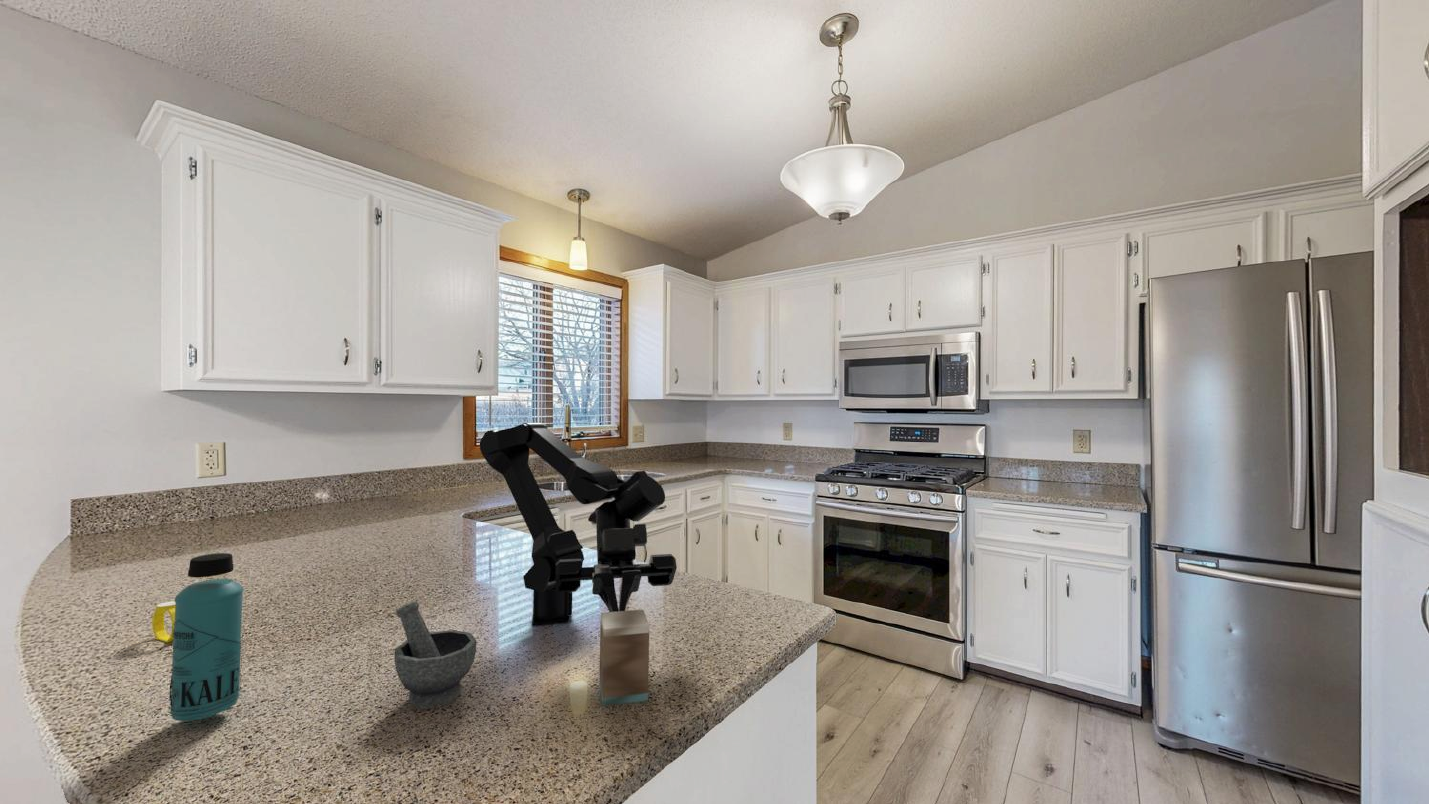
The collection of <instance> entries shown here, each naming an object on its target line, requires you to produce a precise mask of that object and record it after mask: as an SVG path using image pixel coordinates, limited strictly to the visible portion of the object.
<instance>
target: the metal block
mask: <svg viewBox="0 0 1429 804" xmlns="http://www.w3.org/2000/svg"><path fill="white" fill-rule="evenodd" d="M599 628H600V631H599V633H600V634H599V635H600V636H599V637H600V638H599V641H600V643H599V673H598V674H599V677H598V679H599V680H598V681H599V682H598V684H599V685H598V686H599V693H600V699H601V705H602V707H605V706H614V705H620V704H621V705H622V704H629V703H638V702H646V701H648V700H649V672H650V671H649V667H650V664H649V663H650V623H649V621H648V618H647V615H646V613H645V611H644V609H634V610H633V609H630V610H625V611H618V612H609V611H608V612H606V611H605V612H600V627H599Z"/></svg>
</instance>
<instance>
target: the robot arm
mask: <svg viewBox="0 0 1429 804" xmlns="http://www.w3.org/2000/svg"><path fill="white" fill-rule="evenodd" d="M479 449H480V453H481V456H483V458H484V459H485V461H486V463H487V465H489V466H490V467H491V468H492V469H493V470H494V471H496V472H498V473H499V474H501V475H502V476H503V478H504V480H505V482H506V484H507V486H508V489H509V491H510V493H511V495H512V497H513V499H514V501H515V504H516V506H517V507H518V510H519V512H520V514H521V517H522V518H523V520H524V523H525V525H526V528H527V530H528V531H529V533H530V536H531V538H532V550H531V559H532V562H533V565H532V566H531V567H530V568H529V569H528V571H527V572H526V573H524V574H523V577H522V578H523V583H524V588H525V589H529V590H531V591H533V601H532V605H533V606H532V617H531V618H532V619H531V625H532V626H537V625H549V624H551V625H552V624H561V623H569V622H570V616H572V615H573V593H574V592H576V591H578V590H579V589H580V588H581V583H582V582H581V581H591V584H592V594H593V595H594V596H596V595H597V596H599V597H600V599H601V601H602V602H603V603H604V604H605V607H606V608H607V610H608V612H618V611H627V610H626V609H627V605H628V603H629V601H630V598H631V595H632V594H633V593H636V592H638V591H639V588H640V583H641V580H642V579H641V578H642V577H646V578H647V583H648V584H650V585H651V586H652V587H664V586H669V585H672V584H673V581H674V579H675V578H674V577H675V576H676V575H675V574H676V571H677V566H678V565H677V560H676V557H675V556H674V555H672V553H665V554H663V553H662V554H660V553H659V554H651V555H650V557H649V561H648V563H640V564H639V563H637V564H634V560H636V557H637V555H636V553H637V552H636V549H637V548H636V547H645V546H646V545H647V543H648V534H647V533H648V532H647V525H646V524H645V523H637V524H636V523H635V524H634V525H633V527H631V521H632V522H640V521H642V520H643V519H644V518H645V517H647V516H648V515H650V514H651V513H652V512H654V511H655V510H656V509H658V508H659V507H660V506H662V505H663V504H664V503H665V501H666V494H665V490H664V488H663V486H662V485H661V484H659V482H658V481H657V480H655V478H653V477H651V476H649V475H648V474H647V472H646V470H638V471H635V472H634V473H632V475H631V476H630V477H629V478H628V480H624V479H623V478H620V477H619V476H618V475H617V473H616V472H615V471H614V470H613V469H611V468H609V467H607V466H605V465H603V464H601V463H599V462H596V461H592V460H589V459H586V458H584V457H583V456H582V455H581V454H579V453H578V452H576V450H574V449H573V448H572V447H570V446H569V445H568V444H567V443H565V442H564V441H563V440H562V439H560V438H559V437H558V436H557V435H556V434H555V433H553V432H552V431H550V430H549V429H548V426H547V425H546V424H543V423H542V422H524V423H522V424H519V425H516V426H512V427H509V428H504V429H490V430H487V431H486V432H484V434H483V436H482V437H481V439H480V441H479ZM530 450H531V451H533V452H534V453H535V454H536V455H538V457H540V458H541V459H542V460H543V461H545V462H546V464H548V465H549V466H550V467H552V469H554V470H555V471H556V472H557V473H558V474H560V475H561V476H562V478H564V479H565V483H566V484H565V485H566V487H567V490H568V491H569V492H570V494H571V495H573V497H574V498H575V500H576V501H577V502H579V503H580V504H582V505H591V504H596V503H601V505H599V506H598V507H596V508H595V509H594V511H593V512H592V513H590V515H589V517H587V519H588V521H587V522H590V523H592V524H595V529H596V553H597V554H596V555H597V556H596V557H597V563H596V564H594V565H593V566H585V567H583V563H584V560H585V557H584V555H585V554H584V553H583V549H584V546H583V545H582V544H581V543H580V541H579V539H578V536H577V534H576V532H575V531H574V529H570V530H564V529H562V528H561V527H560V526H559V525H558V523H557V521H556V518H555V517H554V514H553V513H552V511H551V508H550V506H549V504H548V502H547V501H546V498H545V496H544V494H543V493H542V490H541V488H540V486H539V484H538V482H537V480H536V478H535V475H534V473H533V472H532V469H531V468H530V465H529V460H530V452H531V451H530ZM602 502H603V503H602ZM615 579H621V582H620V588H619V598H618V600H617V593H616V587H615Z"/></svg>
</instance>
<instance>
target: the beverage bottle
mask: <svg viewBox="0 0 1429 804" xmlns="http://www.w3.org/2000/svg"><path fill="white" fill-rule="evenodd" d="M188 566H189V567H188V571H187V576H188V577H189V578H208V577H209V578H210V577H216V576H221V575H225V574H229V573H231V572H233V571H234V561H233V554H232V553H227V552H225V553H224V552H221V553H209V554H203V555H198V556H194V557H192V558H191V559H190V560H189V565H188ZM243 593H244V586H243V585H242V584H240V583H238V582H237V581H235V580H233V579H231V578H230V579H229V578H213V579H208V580H207V579H206V580H202V581H197V582H193V583H192V584H188V585H187V586H186V587H184V588H182V590H181V591H180V592H179V593H178V594H176V596H175V598H174V601H175V622H174V624H173V625H174V629H173V628H172V627H171V630H172V629H173V630H174V636H173V633H172V637H173V641H172V642H170V643H171V644H172V650H170V651H171V655H172V664H171V665H172V666H171V668H170V673H171V676H170V683H169V696H168V697H169V698H168V702H169V705H170V706H168V710H170V711H168V713H169V714H170V716H171V718H172V719H173V720H175V721H178V722H179V721H180V722H190V721H196V720H200V719H204V718H209V717H212V716H215V715H217V714H220V713H222V712H225V711H227V710H228V709H230V708H231V707H232V708H233V706H234V705H235V704H236V703H237V701H238V700H239V697H240V696H241V694H242V692H241V690H242V689H241V688H242V687H241V686H242V684H241V680H242V670H241V669H242V665H243V664H242V663H243V662H241V661H243V657H242V655H243V652H242V648H243V643H242V615H243Z"/></svg>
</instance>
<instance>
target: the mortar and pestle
mask: <svg viewBox="0 0 1429 804" xmlns="http://www.w3.org/2000/svg"><path fill="white" fill-rule="evenodd" d="M419 607H420V605H419V603H418V601H411V602H407V603H406V604H404V605H402V606H400V607H399V608H398V609H397V610H396V612H395V613H396V617H397V618H400V621H401V623H402V628H403V629H404V635H405V638H406V640H405V641H403V642H402V643H401V644H400V645H398V646H397V647H396V648H395V649H394V665H395V672H396V674H397V676H398V679H399V681H400V682H401V684H402V686H403V688H404V689H405V690H407V691H408V692H409V693H408V694H409V695H408V702H409V704H410V706H411V707H412V708H417V709H422V710H427V709H432V708H434V709H435V708H439V707H442V706H445V705H447V704H449V703H451V702H453V701H456V699H457V698H458V697H459V696H460V695H461V694H462V691H461V690H462V688H461V687H462V686H461V683H460V682H462V680H463V679H464V677H465V676H466V675H467V674H468V673H469V672H470V669H472V666H473V665H474V662H475V658H476V653H477V639H476V638H475V636H474V635H473V634H472V632H468V631H462V630H454V629H450V630H441V631H432V632H430V631H429V629H428V627H427V625H426V622H425V621H424V618H423V617H422V614H421V612H420V610H419Z"/></svg>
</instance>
